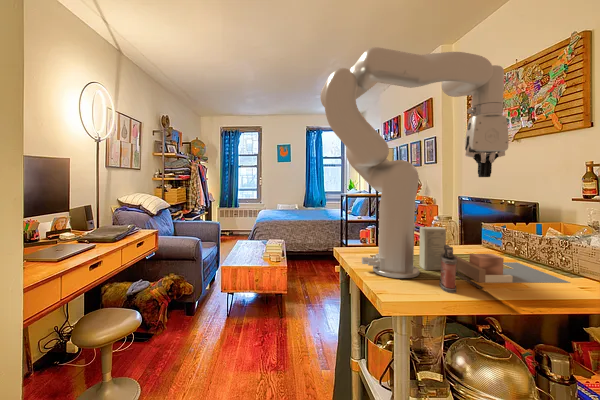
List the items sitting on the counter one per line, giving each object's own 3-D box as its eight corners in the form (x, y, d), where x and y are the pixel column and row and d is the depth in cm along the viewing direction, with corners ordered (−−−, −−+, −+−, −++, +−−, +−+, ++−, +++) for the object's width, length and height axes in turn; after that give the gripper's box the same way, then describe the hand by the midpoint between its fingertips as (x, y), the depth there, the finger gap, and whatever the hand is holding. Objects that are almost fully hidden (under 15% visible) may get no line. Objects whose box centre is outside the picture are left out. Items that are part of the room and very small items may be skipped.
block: (478, 277, 75) (479, 258, 75) (469, 272, 80) (469, 253, 80) (502, 277, 75) (503, 258, 75) (491, 272, 80) (492, 253, 79)
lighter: (458, 293, 69) (460, 250, 68) (442, 292, 70) (443, 249, 69) (452, 282, 76) (453, 243, 76) (437, 281, 77) (438, 242, 77)
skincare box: (438, 266, 91) (440, 226, 90) (445, 270, 87) (447, 228, 86) (418, 266, 91) (419, 226, 90) (424, 270, 87) (425, 228, 86)
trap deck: (478, 288, 72) (479, 270, 72) (443, 267, 90) (443, 252, 90) (570, 288, 72) (571, 270, 71) (516, 267, 90) (517, 252, 89)
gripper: (467, 109, 81) (465, 176, 82) (522, 109, 81) (519, 176, 82) (453, 115, 89) (451, 177, 90) (504, 115, 89) (501, 177, 90)
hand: (484, 176), depth 86 cm, fingers closed
